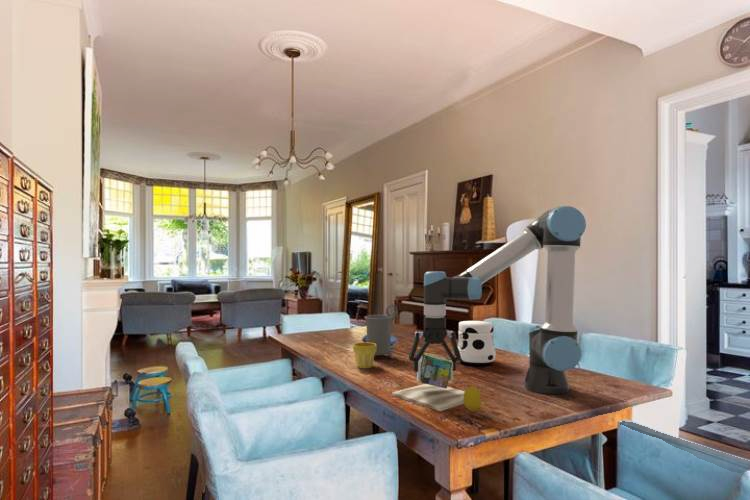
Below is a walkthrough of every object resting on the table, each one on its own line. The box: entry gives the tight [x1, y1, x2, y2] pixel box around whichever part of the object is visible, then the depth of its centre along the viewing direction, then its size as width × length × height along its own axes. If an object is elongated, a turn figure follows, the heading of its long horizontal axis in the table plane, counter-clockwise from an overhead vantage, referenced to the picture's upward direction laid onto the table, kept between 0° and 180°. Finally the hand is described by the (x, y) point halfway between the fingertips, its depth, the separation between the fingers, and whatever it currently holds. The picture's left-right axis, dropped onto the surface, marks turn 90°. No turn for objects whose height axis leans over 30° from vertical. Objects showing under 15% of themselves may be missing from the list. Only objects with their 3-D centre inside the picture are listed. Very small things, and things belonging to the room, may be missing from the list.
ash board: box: [391, 383, 465, 412], centre depth 157 cm, size 22×20×1 cm
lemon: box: [463, 385, 483, 413], centre depth 141 cm, size 6×6×8 cm
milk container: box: [457, 320, 497, 366], centre depth 208 cm, size 17×17×18 cm
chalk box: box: [415, 351, 452, 388], centre depth 158 cm, size 9×9×15 cm
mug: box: [364, 304, 398, 360], centre depth 221 cm, size 19×15×25 cm
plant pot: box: [352, 341, 377, 369], centre depth 201 cm, size 10×10×10 cm
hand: (434, 380), depth 157 cm, fingers closed on chalk box, 10 cm apart
